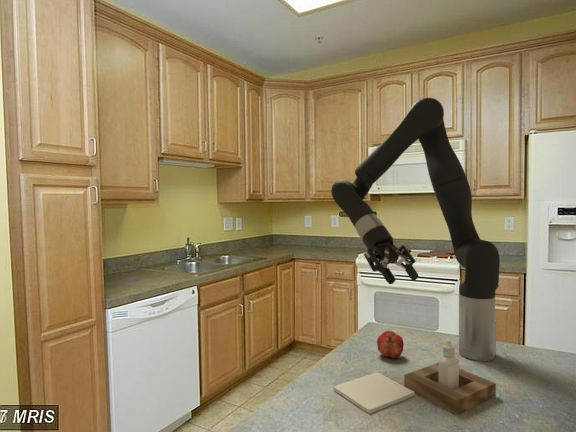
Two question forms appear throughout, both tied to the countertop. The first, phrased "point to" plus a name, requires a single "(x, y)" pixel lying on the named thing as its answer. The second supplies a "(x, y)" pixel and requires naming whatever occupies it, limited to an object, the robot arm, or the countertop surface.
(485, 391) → the walnut socket stand
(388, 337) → the pomegranate
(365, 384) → the off-white tile
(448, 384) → the eye dropper bottle
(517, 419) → the countertop surface
